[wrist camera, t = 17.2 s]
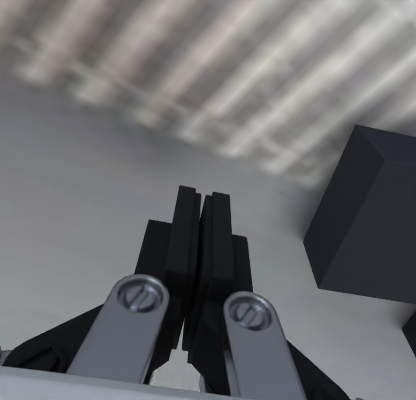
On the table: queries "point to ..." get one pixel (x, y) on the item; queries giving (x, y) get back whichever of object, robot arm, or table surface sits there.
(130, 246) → the table surface
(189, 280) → the robot arm
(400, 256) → the tab pad
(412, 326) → the black flat block
